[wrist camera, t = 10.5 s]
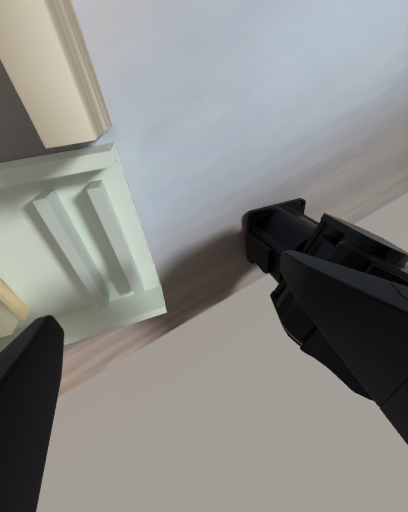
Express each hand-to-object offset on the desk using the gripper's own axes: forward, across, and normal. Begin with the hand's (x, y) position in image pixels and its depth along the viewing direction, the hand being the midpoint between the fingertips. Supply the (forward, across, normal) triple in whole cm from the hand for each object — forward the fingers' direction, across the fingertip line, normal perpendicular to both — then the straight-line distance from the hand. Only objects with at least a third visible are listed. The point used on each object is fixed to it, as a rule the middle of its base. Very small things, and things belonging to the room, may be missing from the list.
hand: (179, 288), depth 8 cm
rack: (+12, +11, +3) cm, 16 cm away
